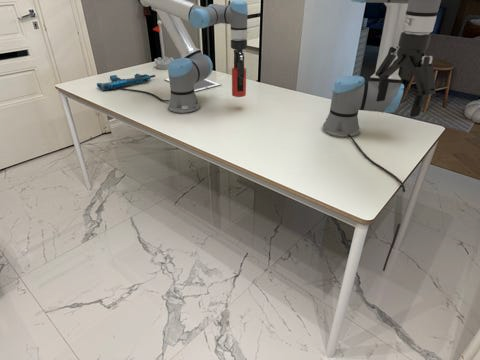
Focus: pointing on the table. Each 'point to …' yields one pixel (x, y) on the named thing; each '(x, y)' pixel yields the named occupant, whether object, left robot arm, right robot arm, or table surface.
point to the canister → (234, 83)
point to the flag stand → (165, 61)
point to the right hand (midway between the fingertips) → (396, 108)
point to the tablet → (203, 84)
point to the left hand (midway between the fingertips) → (238, 88)
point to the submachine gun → (123, 81)
